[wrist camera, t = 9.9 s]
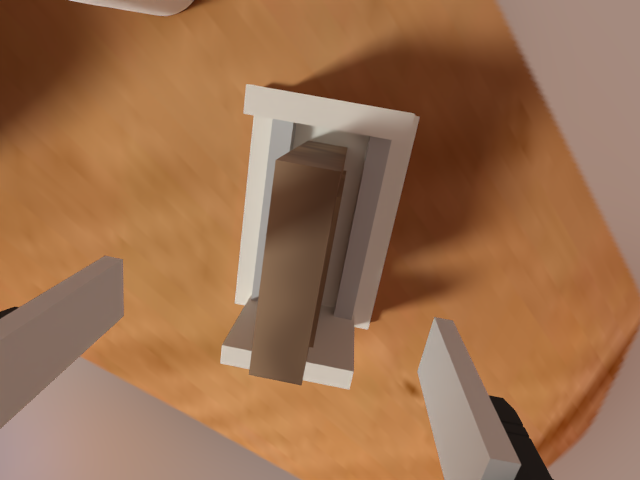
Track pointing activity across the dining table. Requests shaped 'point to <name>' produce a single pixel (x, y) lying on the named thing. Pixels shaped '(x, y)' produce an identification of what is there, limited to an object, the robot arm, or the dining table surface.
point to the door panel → (296, 258)
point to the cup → (143, 5)
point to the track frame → (352, 224)
